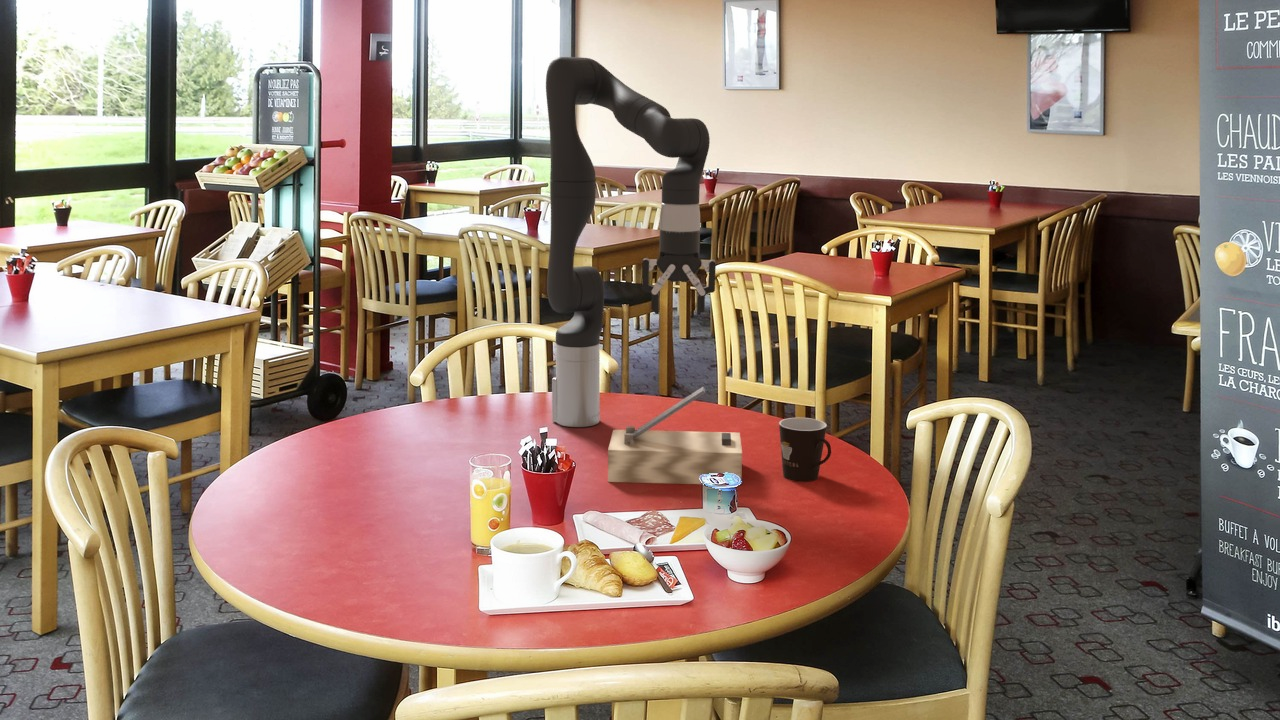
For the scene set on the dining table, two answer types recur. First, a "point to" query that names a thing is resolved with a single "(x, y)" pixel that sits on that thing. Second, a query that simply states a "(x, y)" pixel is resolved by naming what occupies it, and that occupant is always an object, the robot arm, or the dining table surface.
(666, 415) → the strap
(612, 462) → the tea crate
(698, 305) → the robot arm
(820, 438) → the coffee mug
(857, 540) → the dining table surface
